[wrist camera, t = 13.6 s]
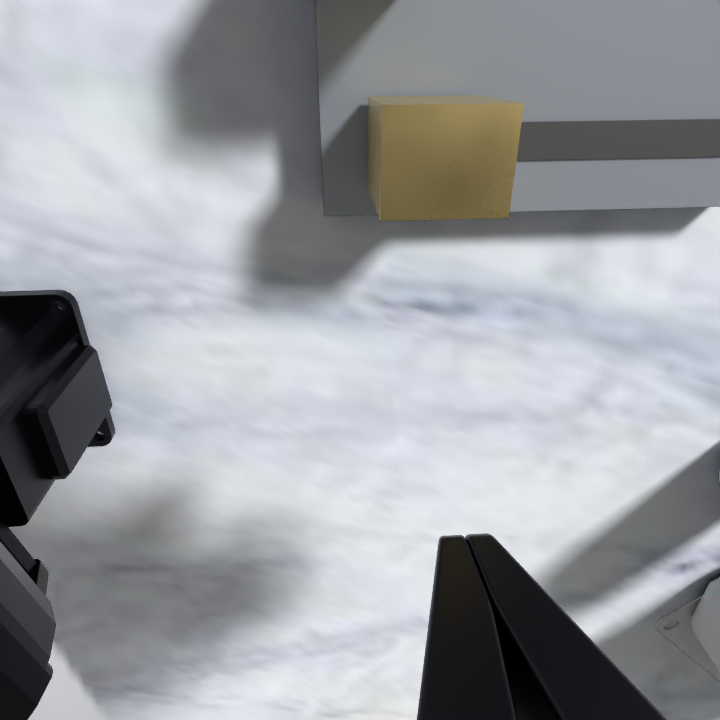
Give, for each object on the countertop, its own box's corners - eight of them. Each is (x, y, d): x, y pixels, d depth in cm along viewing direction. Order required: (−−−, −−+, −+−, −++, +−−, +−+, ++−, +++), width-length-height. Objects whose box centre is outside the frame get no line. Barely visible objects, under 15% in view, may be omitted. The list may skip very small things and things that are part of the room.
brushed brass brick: (367, 189, 15) (380, 221, 12) (367, 96, 14) (381, 105, 11) (471, 187, 15) (508, 218, 12) (479, 94, 14) (523, 103, 11)
